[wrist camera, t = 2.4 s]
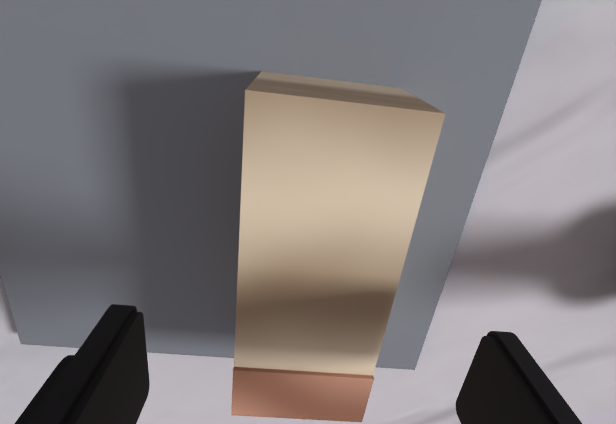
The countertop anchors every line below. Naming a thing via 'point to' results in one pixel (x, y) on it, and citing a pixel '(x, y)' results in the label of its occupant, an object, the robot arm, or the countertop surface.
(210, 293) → the slate mat
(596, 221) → the countertop surface
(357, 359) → the beige brown block
